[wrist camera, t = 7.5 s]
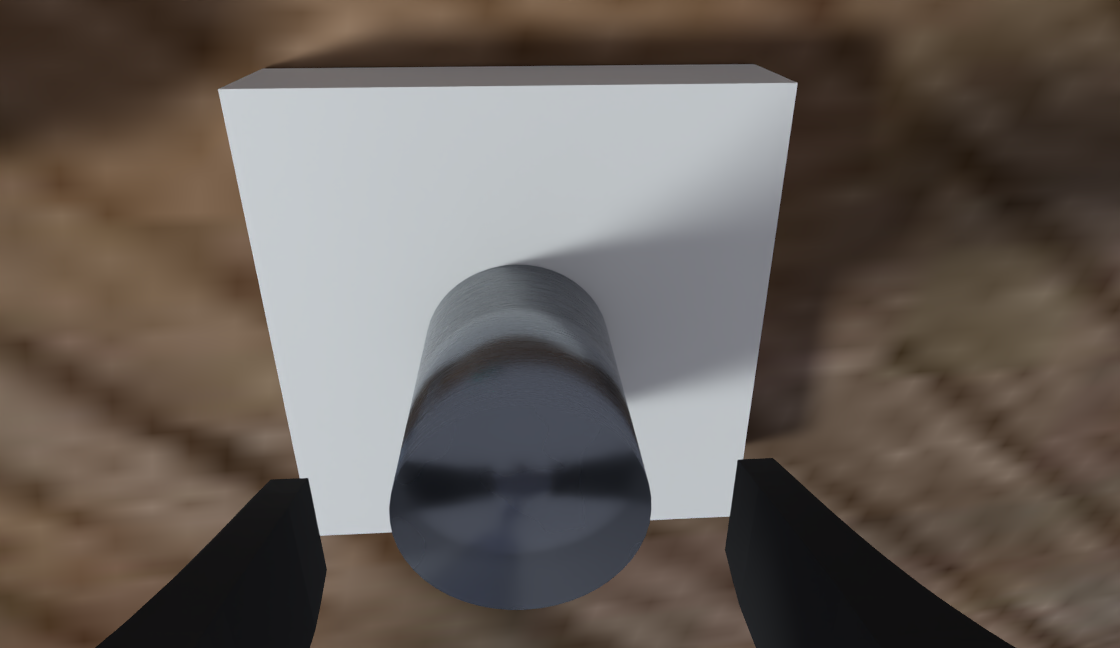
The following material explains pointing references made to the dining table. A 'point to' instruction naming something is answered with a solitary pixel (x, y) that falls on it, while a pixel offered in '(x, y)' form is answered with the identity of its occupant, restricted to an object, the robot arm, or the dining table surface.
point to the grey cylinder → (519, 447)
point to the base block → (511, 245)
